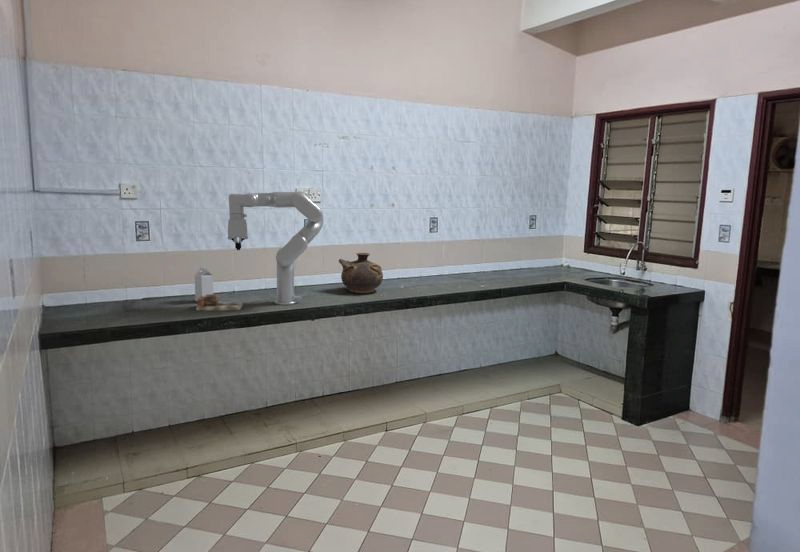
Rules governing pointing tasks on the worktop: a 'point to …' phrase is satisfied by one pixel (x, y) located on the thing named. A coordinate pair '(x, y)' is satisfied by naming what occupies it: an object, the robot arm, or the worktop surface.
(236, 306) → the rail board
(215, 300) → the keeper
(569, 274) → the worktop surface
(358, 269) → the vessel
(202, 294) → the milk carton
